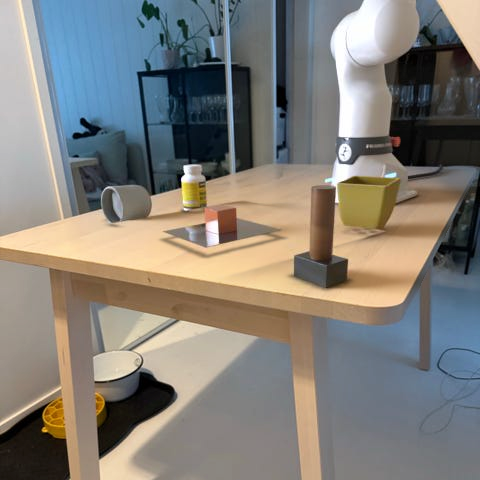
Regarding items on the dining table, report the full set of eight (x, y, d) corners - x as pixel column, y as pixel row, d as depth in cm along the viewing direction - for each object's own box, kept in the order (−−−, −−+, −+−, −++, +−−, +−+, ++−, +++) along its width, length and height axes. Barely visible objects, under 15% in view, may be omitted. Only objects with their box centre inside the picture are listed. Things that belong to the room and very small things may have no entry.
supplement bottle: (203, 212, 103) (200, 166, 99) (180, 212, 104) (176, 167, 100) (209, 207, 107) (207, 163, 103) (187, 207, 109) (184, 164, 104)
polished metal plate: (234, 224, 91) (234, 217, 91) (281, 238, 81) (281, 229, 80) (163, 239, 83) (162, 231, 82) (205, 256, 73) (204, 247, 72)
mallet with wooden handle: (314, 269, 65) (317, 182, 60) (346, 280, 61) (353, 187, 56) (293, 276, 63) (295, 186, 58) (325, 288, 59) (330, 191, 53)
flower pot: (382, 239, 78) (387, 185, 74) (333, 234, 82) (335, 182, 78) (396, 228, 85) (401, 177, 81) (350, 223, 89) (353, 175, 85)
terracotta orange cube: (224, 226, 84) (223, 204, 82) (237, 230, 81) (236, 207, 79) (205, 230, 82) (204, 207, 80) (218, 234, 79) (217, 211, 77)
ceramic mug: (156, 219, 97) (152, 182, 94) (125, 227, 92) (119, 188, 88) (125, 215, 104) (120, 179, 100) (94, 222, 98) (88, 185, 95)
